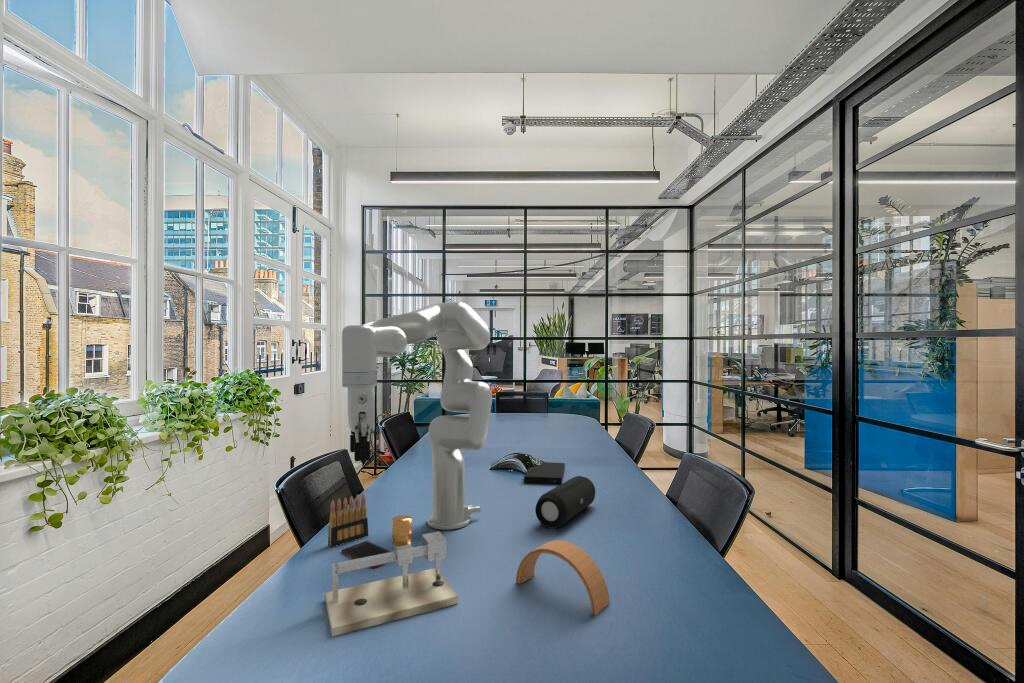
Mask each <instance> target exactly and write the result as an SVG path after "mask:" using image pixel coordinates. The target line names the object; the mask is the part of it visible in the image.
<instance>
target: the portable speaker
mask: <svg viewBox="0 0 1024 683" xmlns="http://www.w3.org/2000/svg"><path fill="white" fill-rule="evenodd" d="M595 486H596V485H595V484H594V483H593V481H592V480H591V479H589V478H588V477H586V476H582V475H577V476H573V477H572V478H569V479H568V480H566V481H564V482H562V484H561V485H557V486H556V487H554V488H552V489H551V490H549V491H547V492H544V493H543V494H541V496H540V497H539V498H538V500H537V501H536V504H535V515H536V518H537V520H538V521H539V522H540V524H542V526H545V527H547V528H555V529H556V528H559V527H561V526H563V525H564V524H565V523H567V522H568V521H569V520H571V519H572V518H573V517H575V516H576V515H578V514H579V513H580V512H582V511H583V510H584V509H587V507H589V506H590V505H591V504H593V502H594V500H595V498H596V487H595Z"/></svg>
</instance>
